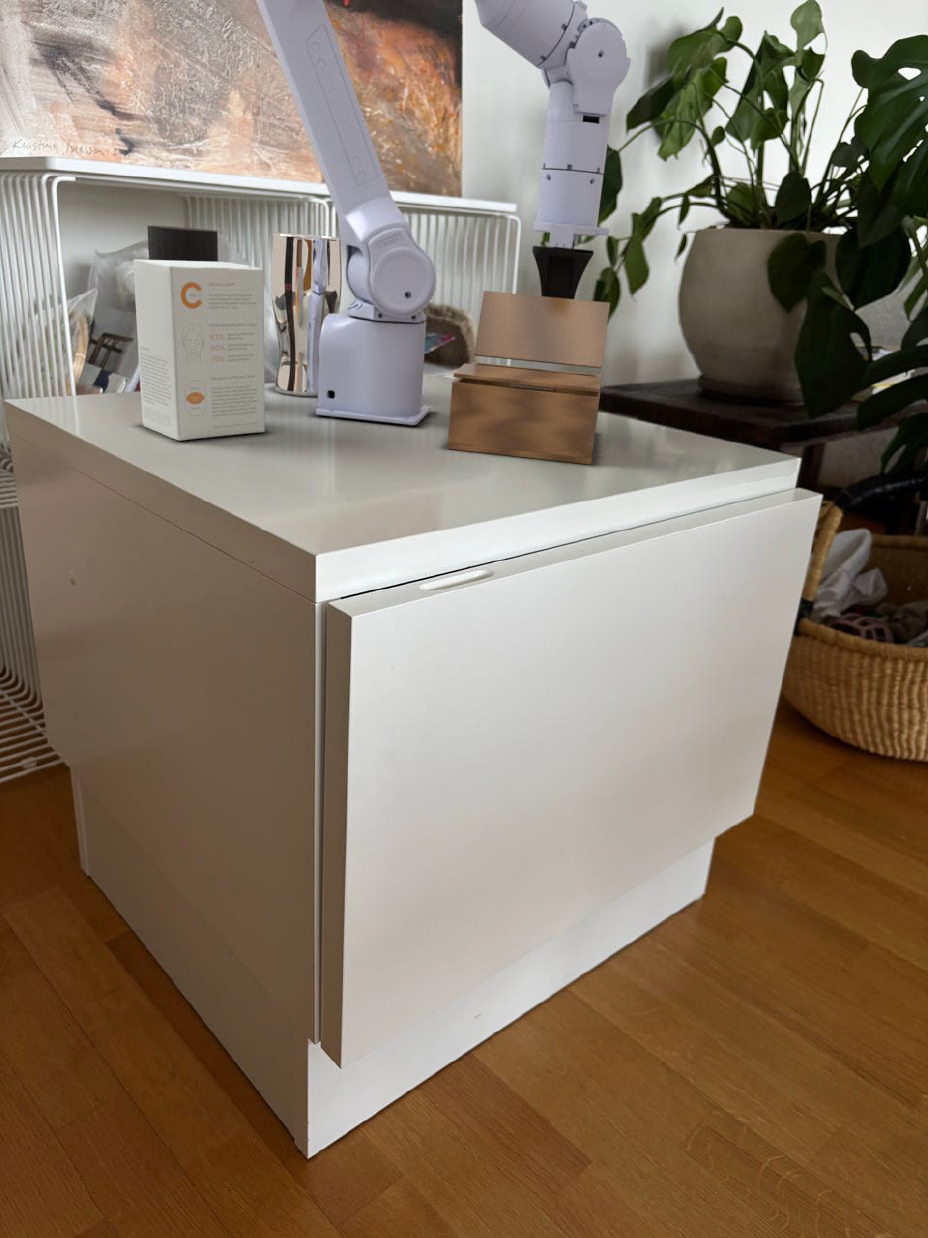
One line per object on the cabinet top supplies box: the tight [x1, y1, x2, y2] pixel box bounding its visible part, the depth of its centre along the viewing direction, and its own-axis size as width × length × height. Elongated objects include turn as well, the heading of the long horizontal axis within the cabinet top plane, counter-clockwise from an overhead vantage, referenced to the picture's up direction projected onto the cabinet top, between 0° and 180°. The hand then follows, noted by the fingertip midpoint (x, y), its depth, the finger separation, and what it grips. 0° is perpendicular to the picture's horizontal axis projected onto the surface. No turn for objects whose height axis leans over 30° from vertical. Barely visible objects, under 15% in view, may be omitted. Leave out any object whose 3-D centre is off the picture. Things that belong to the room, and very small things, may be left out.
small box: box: [132, 258, 266, 442], centre depth 77 cm, size 8×6×13 cm
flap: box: [474, 290, 611, 369], centre depth 90 cm, size 12×6×1 cm
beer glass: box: [270, 232, 343, 397], centre depth 97 cm, size 7×7×15 cm
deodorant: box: [146, 225, 219, 262], centre depth 88 cm, size 6×6×15 cm
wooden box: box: [447, 361, 602, 465], centre depth 85 cm, size 12×13×6 cm
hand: (554, 326), depth 94 cm, fingers closed
